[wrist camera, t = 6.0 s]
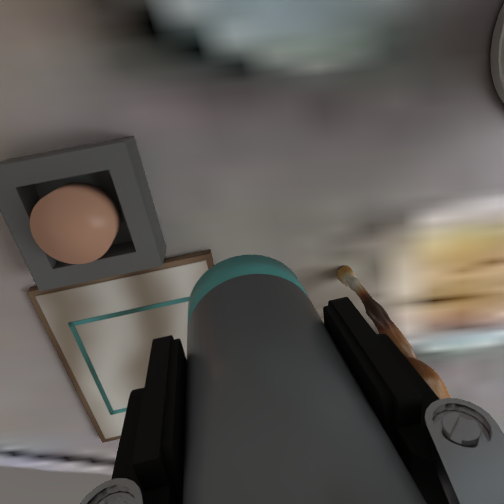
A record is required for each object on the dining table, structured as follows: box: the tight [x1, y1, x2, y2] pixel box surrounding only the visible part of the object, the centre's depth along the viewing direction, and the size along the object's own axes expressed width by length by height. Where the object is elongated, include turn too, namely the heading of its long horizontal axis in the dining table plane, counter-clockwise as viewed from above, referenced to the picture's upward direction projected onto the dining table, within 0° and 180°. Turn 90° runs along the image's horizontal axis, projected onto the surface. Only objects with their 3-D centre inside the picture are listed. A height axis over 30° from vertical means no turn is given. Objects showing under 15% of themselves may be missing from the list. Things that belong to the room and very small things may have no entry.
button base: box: [0, 136, 166, 292], centre depth 26 cm, size 9×9×4 cm
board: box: [27, 250, 214, 443], centre depth 33 cm, size 15×18×1 cm
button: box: [30, 182, 121, 264], centre depth 24 cm, size 5×5×2 cm
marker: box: [183, 255, 427, 504], centre depth 8 cm, size 5×5×12 cm
